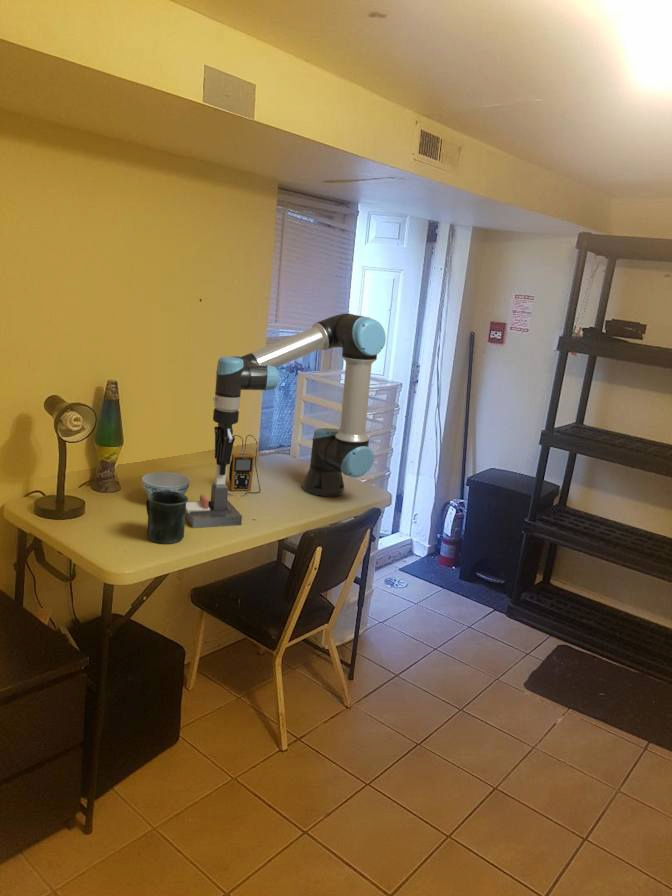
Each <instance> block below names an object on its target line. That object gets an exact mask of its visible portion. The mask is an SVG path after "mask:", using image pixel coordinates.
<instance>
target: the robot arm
mask: <svg viewBox="0 0 672 896" xmlns="http://www.w3.org/2000/svg"><path fill="white" fill-rule="evenodd" d="M386 337H387V335H386V331H385V328H384V327H383V325H382V324H381V323H380V322H379V321H378V320H376V319H374V318H372V317H369V316H364V315H358V314H353V313H339V314H336V315H332V316H330V317H327V318H324V319H322V320H319V321H317V322H315V323H313V325H312V327H311V328H309V329H306V330H303V331H301V332H299V333H296V334H293V335H292V336H289V337H287V338H284V339H282V340H279V341H277V342H274V343H272V344H270V345H267V346H265V347H262V348H259V349H257V350H255V351H253V352H249V353H246V354H244V355H242V356H236V355H232V356H222V357H221V356H220V357H219V358H218V361H217V366H216V372H215V373H216V376H215V378H216V379H215V389H214V397H213V398H212V400H213V402H214V404H213V407H214V409H213V415H212V420H213V422H215V423H216V424H217V426H214V428H213V429H214V459H216V470H215V471H216V472H215V482H214V483H216V484H217V485H221V484H225V485H226V481H227V480H226V479H227V477H226V476H227V468H228V467H227V466H228V465H230V463H231V460H232V454H233V447H234V443H235V440H236V437H235V436H233V433H234V432H233V431H234V430H233V425H236V424H237V423H238V422H239V415H240V413H239V410H240V406H241V394H242V391H247V390H248V391H272V390H275V389H277V387H278V385H279V383H280V382H279V381H280V373H279V370H278V369H277V368H278V367H280V366H283V365H286V364H288V363H289V362H293V361H295V360H297V359H299V358H302V357H304V356H308V355H309V354H312V353H314V352H315V351H316V352H317V351H319V350H322V351H326V350H328V349H333V348H342V351H341V358H342V359H343V360H344V361H345V371H344V381H343V392H342V393H343V395H342V404H341V406H342V407H341V414H340V415H341V416H340V417H341V418H340V427H339V428H331V427H329V428H327V427H326V428H325V427H324V428H317V429H316V430H314V432H313V436H312V444H311V455H310V465H309V469H308V471H307V474H306V476H305V478H304V480H303V482H302V489H303V490H304V492H306V491H307V492H306V493H308V492H309V493H308V494H310V493H312V494H311V495H314V494H315V495H314V496H318V495H321V496H320V497H326V496H334V497H338V496H337V495H340V494H342V493H343V492H344V493H345V483H344V480H343V479H344V478H343V475H345V476H348V477H349V478H354V479H355V478H360V477H362V476H364V475H366V474H367V472H369V471H370V469H371V468H372V467H373V464H374V460H375V455H374V452H373V451H372V449H371V448H370V447H369V443H370V442H369V441H370V437H369V436H368V434H367V433H366V430H367V429H366V428H367V417H368V406H369V397H370V396H369V394H370V384H371V375H372V373H371V372H372V364H373V363H374V362H376V361H377V359H378V357H377V356H378V355H379V354H380V352H381V351H382V350H383V349H384V347H385V344H386ZM344 493H343V494H344ZM343 494H342V495H343ZM340 496H341V495H340Z"/></svg>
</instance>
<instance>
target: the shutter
mask: <svg viewBox="0 0 672 896" xmlns="http://www.w3.org/2000/svg"><path fill="white" fill-rule="evenodd" d="M199 501H200V502H197V501H187V502H186V511H187V512H188V513H190V511H209V510H210V508H209V507H208V505H209V501H210V500H209V499H207V497H206V496H205V494H199Z"/></svg>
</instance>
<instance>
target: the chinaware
mask: <svg viewBox="0 0 672 896" xmlns="http://www.w3.org/2000/svg"><path fill="white" fill-rule="evenodd" d="M141 482H142V486H143V490H144V491H145V492H146V494H147V496H148V495H149V494H151V493H154V492H159V491H172V492H178V493H181V494H183V495H186V493H187V491H188V489H189V487H190V483H191V479H190V477H188V476H187V475H185V474H181V473H176V472H169V471H168V472H167V471H159V472H158V471H157V472H149V473H147V474H145V475H143V476H142V478H141Z"/></svg>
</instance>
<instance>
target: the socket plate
mask: <svg viewBox="0 0 672 896" xmlns="http://www.w3.org/2000/svg"><path fill="white" fill-rule="evenodd" d="M208 501H209V505H208V507H209V508H210V502H211V500H208ZM196 502H200V500H198V501H196ZM185 520H186V521H187V522H188V523H189V524H190V526H191V527H192V529H198V528H200V529H201V528H215V527H230V526H231V527H233V526H241V525H242V523H243V522H242V521H243V515H242V514H241V513H240V511H238V510H237V508H236V507H235V506H234V505H233V504H232V503H231V501H230V500H228V499H227V509H226V510H212V509H211V508H210V510H209V511H190V513H188V512H187V511H186V513H185Z"/></svg>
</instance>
